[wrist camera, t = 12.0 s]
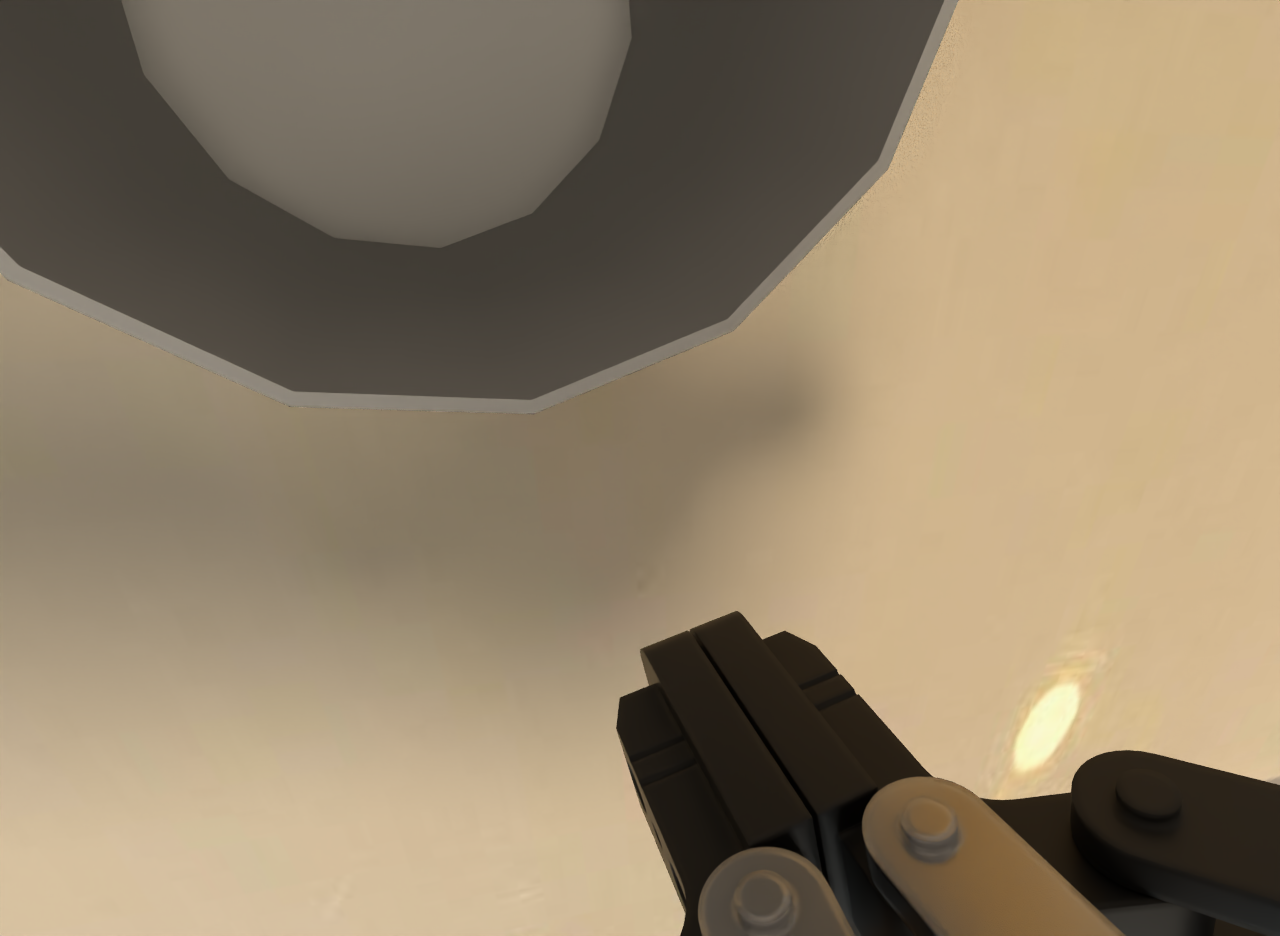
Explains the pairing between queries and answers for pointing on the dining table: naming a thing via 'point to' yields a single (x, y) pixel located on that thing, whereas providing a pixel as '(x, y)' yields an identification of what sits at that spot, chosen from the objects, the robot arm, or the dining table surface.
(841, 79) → the cup
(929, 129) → the dining table surface
